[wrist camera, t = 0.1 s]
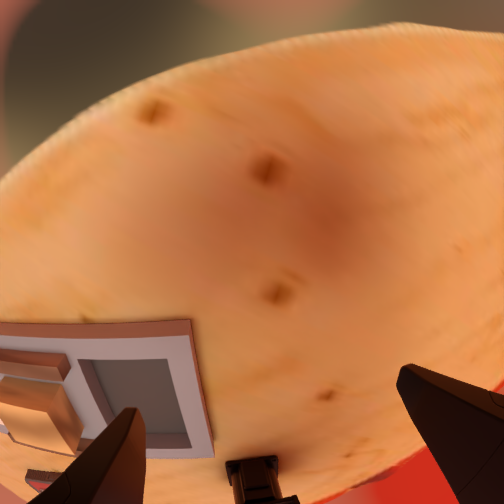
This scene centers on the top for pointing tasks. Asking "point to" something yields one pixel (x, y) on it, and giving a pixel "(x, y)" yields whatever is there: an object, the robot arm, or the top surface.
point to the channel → (39, 377)
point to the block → (39, 414)
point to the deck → (127, 379)
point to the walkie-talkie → (40, 479)
